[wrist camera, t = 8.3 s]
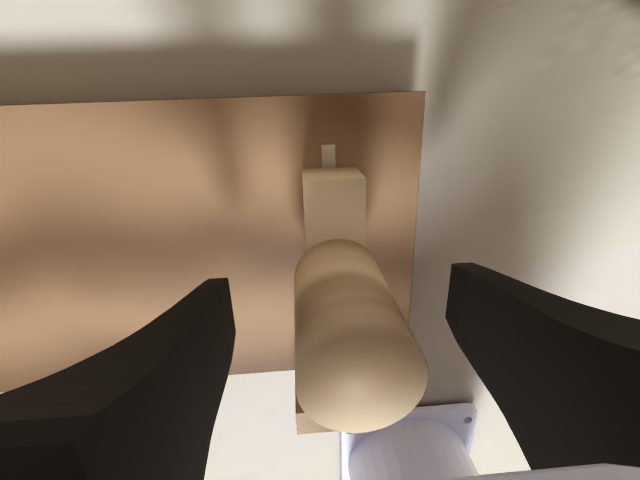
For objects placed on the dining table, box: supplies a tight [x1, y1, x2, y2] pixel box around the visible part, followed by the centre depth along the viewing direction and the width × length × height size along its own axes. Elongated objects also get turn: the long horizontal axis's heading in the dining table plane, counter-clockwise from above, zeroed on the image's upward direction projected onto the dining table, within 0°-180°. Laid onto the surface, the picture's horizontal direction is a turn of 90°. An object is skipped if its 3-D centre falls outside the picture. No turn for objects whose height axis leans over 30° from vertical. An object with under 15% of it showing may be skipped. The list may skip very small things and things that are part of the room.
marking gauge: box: [294, 167, 428, 434], centre depth 13 cm, size 11×4×9 cm, turn 2°
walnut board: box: [0, 91, 426, 392], centre depth 15 cm, size 12×20×2 cm, turn 92°
